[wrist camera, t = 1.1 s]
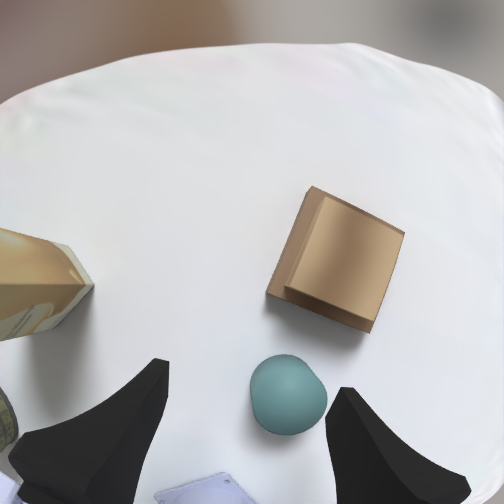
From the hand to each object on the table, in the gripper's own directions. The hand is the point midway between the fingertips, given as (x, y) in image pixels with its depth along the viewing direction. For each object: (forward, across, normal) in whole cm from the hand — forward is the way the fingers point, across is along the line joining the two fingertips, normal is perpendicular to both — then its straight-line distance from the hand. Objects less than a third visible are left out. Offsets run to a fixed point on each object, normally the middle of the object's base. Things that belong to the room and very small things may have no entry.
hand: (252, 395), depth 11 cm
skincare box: (+10, +16, +3) cm, 19 cm away
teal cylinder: (+8, -3, +6) cm, 11 cm away
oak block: (+10, -5, -3) cm, 12 cm away
